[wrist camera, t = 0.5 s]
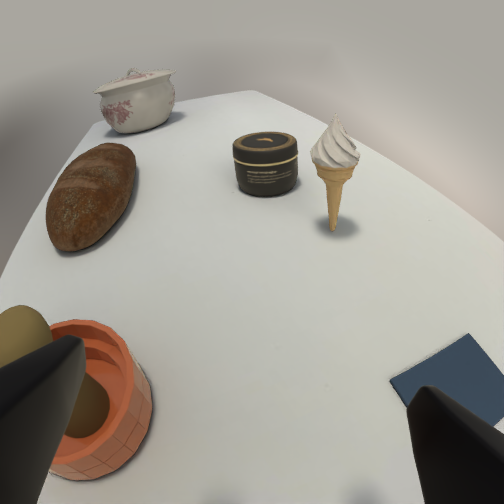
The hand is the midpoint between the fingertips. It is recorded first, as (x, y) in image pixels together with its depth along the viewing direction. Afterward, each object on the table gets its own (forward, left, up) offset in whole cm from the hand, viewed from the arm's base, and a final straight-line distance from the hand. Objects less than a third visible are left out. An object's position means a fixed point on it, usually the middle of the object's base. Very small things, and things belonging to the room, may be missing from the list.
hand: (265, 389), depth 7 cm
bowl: (+5, +17, -16) cm, 24 cm away
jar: (+44, +1, -16) cm, 47 cm away
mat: (+6, -15, -16) cm, 23 cm away
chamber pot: (+96, +41, -16) cm, 105 cm away
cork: (+5, +17, -16) cm, 23 cm away
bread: (+45, +32, -16) cm, 57 cm away
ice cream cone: (+30, -7, -16) cm, 35 cm away
